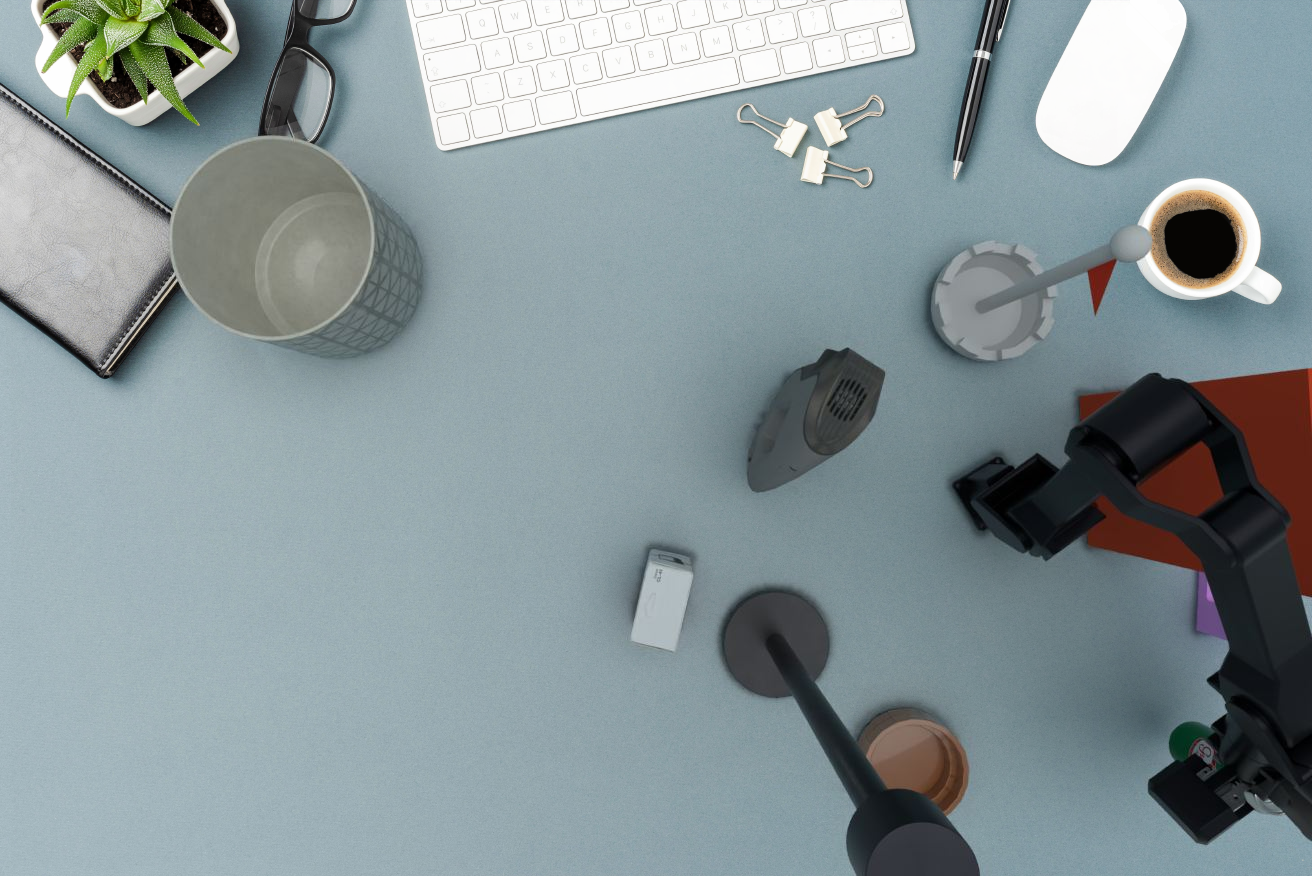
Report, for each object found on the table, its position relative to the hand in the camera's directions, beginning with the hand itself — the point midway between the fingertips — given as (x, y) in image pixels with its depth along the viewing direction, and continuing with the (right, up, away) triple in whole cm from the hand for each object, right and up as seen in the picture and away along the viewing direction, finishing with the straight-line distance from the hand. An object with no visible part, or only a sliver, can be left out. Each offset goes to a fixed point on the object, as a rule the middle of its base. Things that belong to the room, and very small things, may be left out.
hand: (1241, 779), depth 77 cm
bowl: (-30, -3, +12) cm, 32 cm away
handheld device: (-43, +35, +12) cm, 57 cm away
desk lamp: (-45, +11, +12) cm, 48 cm away
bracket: (+7, +18, +12) cm, 23 cm away
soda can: (-1, +1, +7) cm, 7 cm away
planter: (-94, +52, +12) cm, 108 cm away
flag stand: (-21, +49, +12) cm, 55 cm away
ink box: (-58, +17, +12) cm, 62 cm away
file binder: (-6, +31, +12) cm, 33 cm away
